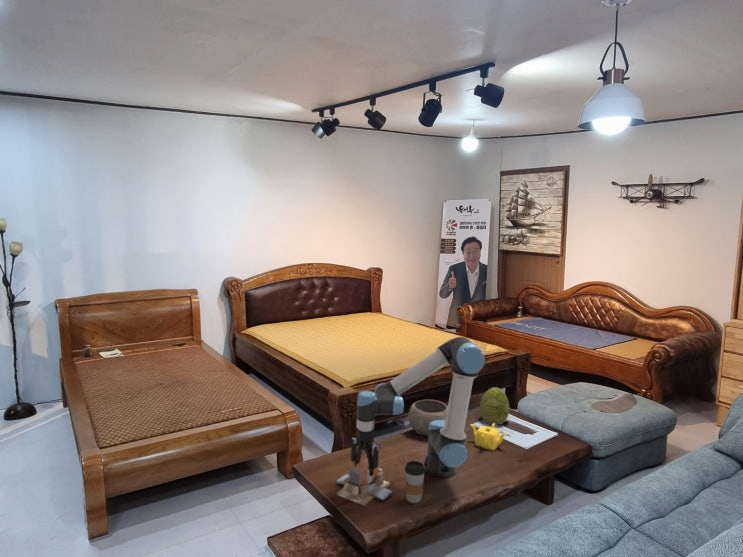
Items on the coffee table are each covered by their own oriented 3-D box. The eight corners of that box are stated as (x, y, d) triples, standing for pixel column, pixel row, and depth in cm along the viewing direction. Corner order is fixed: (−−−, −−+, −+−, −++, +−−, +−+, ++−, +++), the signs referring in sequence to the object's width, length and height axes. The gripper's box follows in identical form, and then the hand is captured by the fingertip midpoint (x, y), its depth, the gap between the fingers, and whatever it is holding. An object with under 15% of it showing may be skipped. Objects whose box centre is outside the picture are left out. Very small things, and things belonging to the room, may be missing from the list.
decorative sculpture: (506, 428, 288) (508, 394, 285) (477, 423, 294) (479, 390, 291) (509, 418, 303) (512, 385, 301) (481, 413, 309) (483, 381, 306)
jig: (399, 488, 224) (400, 475, 223) (374, 509, 207) (375, 495, 206) (354, 471, 237) (354, 459, 236) (327, 491, 220) (327, 477, 219)
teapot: (506, 450, 262) (507, 432, 261) (480, 452, 259) (481, 434, 258) (493, 437, 276) (494, 420, 275) (468, 440, 273) (469, 422, 272)
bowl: (405, 438, 273) (406, 411, 271) (409, 421, 295) (410, 395, 293) (450, 442, 269) (451, 415, 267) (450, 424, 292) (452, 399, 290)
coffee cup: (402, 493, 219) (403, 460, 217) (421, 493, 220) (423, 460, 218) (405, 505, 211) (406, 470, 209) (425, 504, 212) (426, 470, 210)
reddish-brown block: (378, 474, 226) (379, 459, 225) (359, 490, 214) (359, 473, 213) (368, 471, 229) (369, 456, 228) (349, 486, 217) (349, 470, 216)
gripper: (388, 430, 216) (386, 482, 219) (353, 420, 226) (351, 470, 229) (378, 436, 210) (376, 490, 213) (342, 425, 220) (341, 477, 223)
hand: (363, 479), depth 221 cm, fingers closed on reddish-brown block, 5 cm apart
